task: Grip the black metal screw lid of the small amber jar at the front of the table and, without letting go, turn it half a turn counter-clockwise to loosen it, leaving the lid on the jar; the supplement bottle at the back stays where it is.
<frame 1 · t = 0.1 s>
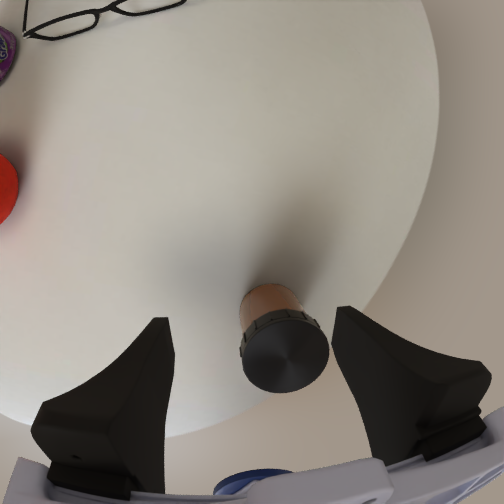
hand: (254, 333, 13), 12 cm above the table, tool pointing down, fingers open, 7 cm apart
jar: (269, 311, 25), on the table
apple: (3, 187, 21), on the table
jar lid: (285, 356, 19), point 7 cm above the table, screwed on, not yet turned
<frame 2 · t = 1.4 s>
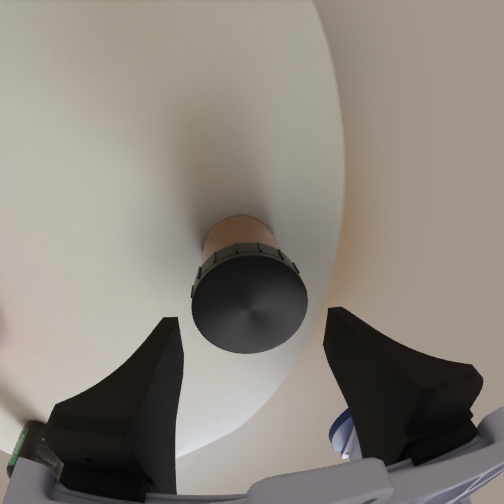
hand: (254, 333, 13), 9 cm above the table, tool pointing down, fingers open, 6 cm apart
jar: (240, 251, 21), on the table
supplement bottle: (47, 434, 28), on the table
jar lid: (249, 305, 15), point 7 cm above the table, screwed on, not yet turned
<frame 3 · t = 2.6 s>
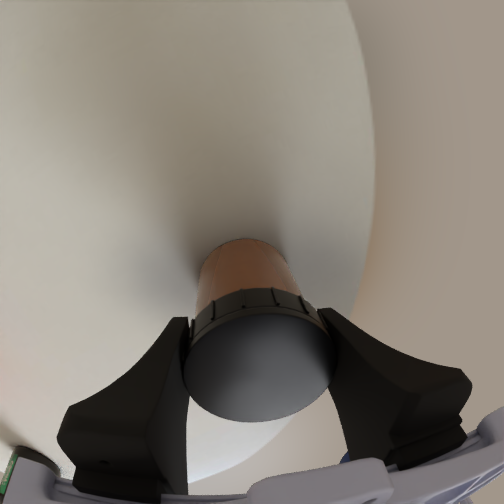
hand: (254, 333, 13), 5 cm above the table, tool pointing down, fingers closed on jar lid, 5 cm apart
jar: (244, 281, 17), on the table
supplement bottle: (38, 459, 24), on the table
jar lid: (260, 370, 11), point 7 cm above the table, screwed on, not yet turned, touching gripper
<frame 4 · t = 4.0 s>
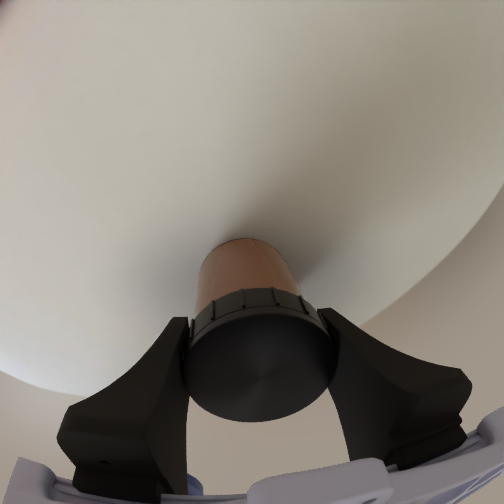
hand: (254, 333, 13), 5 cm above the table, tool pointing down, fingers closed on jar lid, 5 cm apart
jar: (244, 281, 17), on the table
jar lid: (260, 370, 11), point 7 cm above the table, turned 58° so far, risen 0.1 cm, still on its thread, touching gripper
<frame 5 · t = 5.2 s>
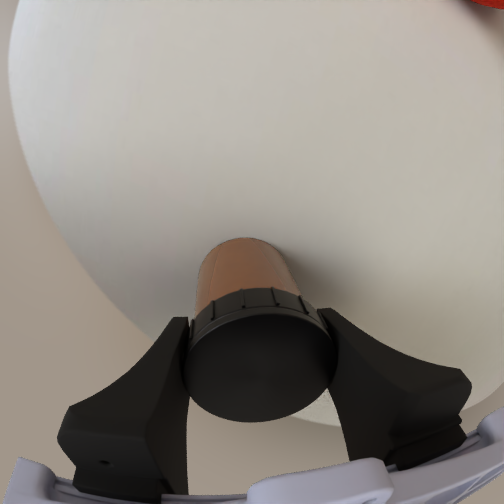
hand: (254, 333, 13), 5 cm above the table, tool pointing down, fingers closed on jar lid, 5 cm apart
jar: (243, 280, 17), on the table
jar lid: (260, 370, 11), point 7 cm above the table, turned 133° so far, risen 0.2 cm, still on its thread, touching gripper
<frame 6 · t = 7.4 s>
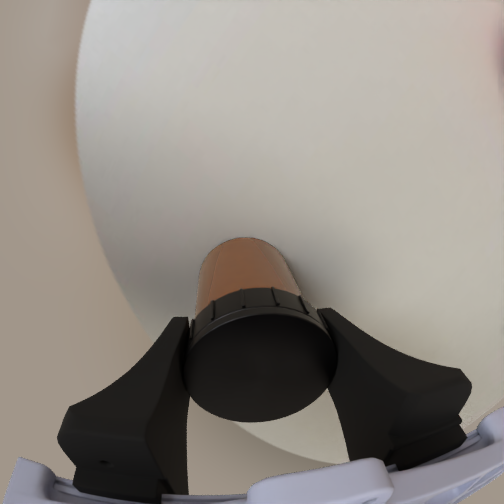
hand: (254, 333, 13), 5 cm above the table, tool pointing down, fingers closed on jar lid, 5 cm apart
jar: (244, 279, 17), on the table
jar lid: (260, 370, 11), point 7 cm above the table, turned 153° so far, risen 0.2 cm, still on its thread, touching gripper
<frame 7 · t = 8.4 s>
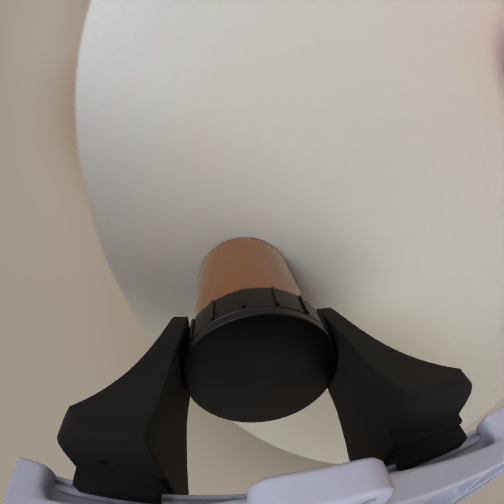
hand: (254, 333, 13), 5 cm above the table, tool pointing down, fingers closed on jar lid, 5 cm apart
jar: (244, 279, 17), on the table
jar lid: (260, 370, 11), point 7 cm above the table, turned 153° so far, risen 0.2 cm, still on its thread, touching gripper
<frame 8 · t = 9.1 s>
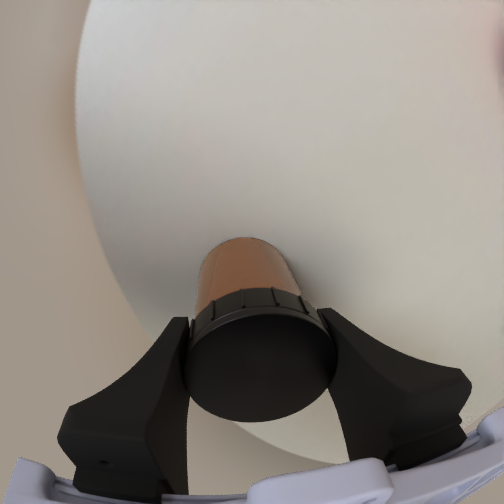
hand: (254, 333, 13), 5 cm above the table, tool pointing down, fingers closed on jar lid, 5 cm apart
jar: (244, 279, 17), on the table
jar lid: (260, 370, 11), point 7 cm above the table, turned 153° so far, risen 0.2 cm, still on its thread, touching gripper
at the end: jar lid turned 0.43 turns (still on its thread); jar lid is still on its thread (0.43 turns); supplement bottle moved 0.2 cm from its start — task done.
